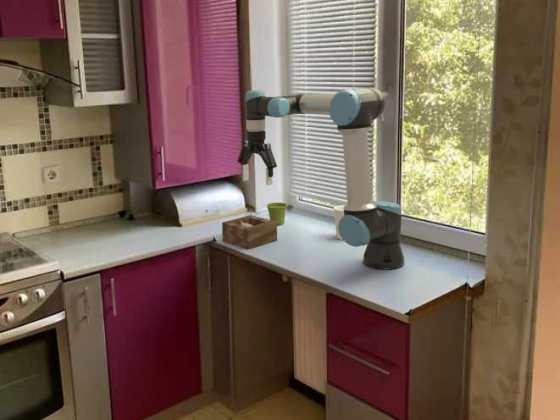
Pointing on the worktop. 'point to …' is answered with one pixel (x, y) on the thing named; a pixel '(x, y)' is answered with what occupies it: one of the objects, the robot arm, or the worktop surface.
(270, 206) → the plant pot
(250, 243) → the walnut well
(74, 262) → the worktop surface
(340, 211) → the foam cup
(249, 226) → the garlic bulb
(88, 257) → the worktop surface
